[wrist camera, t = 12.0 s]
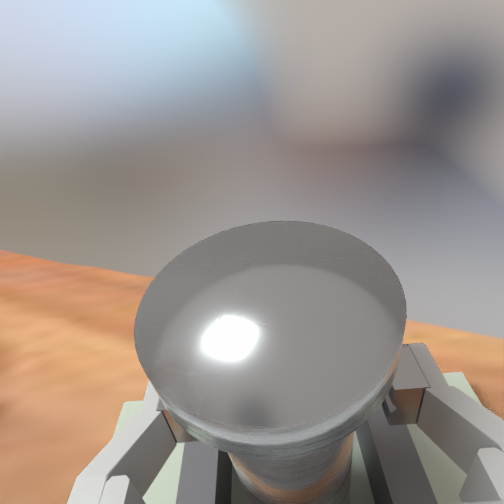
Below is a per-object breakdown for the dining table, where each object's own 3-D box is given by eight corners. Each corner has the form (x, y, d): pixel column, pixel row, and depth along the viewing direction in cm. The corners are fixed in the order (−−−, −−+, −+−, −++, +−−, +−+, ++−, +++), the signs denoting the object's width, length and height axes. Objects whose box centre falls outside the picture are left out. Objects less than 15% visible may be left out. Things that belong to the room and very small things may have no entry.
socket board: (31, 745, 12) (-54, 737, 9) (130, 413, 22) (103, 364, 19) (656, 726, 11) (762, 711, 8) (457, 384, 21) (475, 328, 18)
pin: (238, 596, 13) (95, 441, 5) (239, 444, 18) (161, 235, 10) (386, 588, 13) (466, 406, 5) (349, 434, 17) (361, 208, 9)
